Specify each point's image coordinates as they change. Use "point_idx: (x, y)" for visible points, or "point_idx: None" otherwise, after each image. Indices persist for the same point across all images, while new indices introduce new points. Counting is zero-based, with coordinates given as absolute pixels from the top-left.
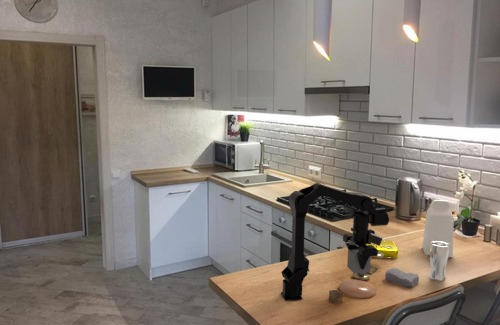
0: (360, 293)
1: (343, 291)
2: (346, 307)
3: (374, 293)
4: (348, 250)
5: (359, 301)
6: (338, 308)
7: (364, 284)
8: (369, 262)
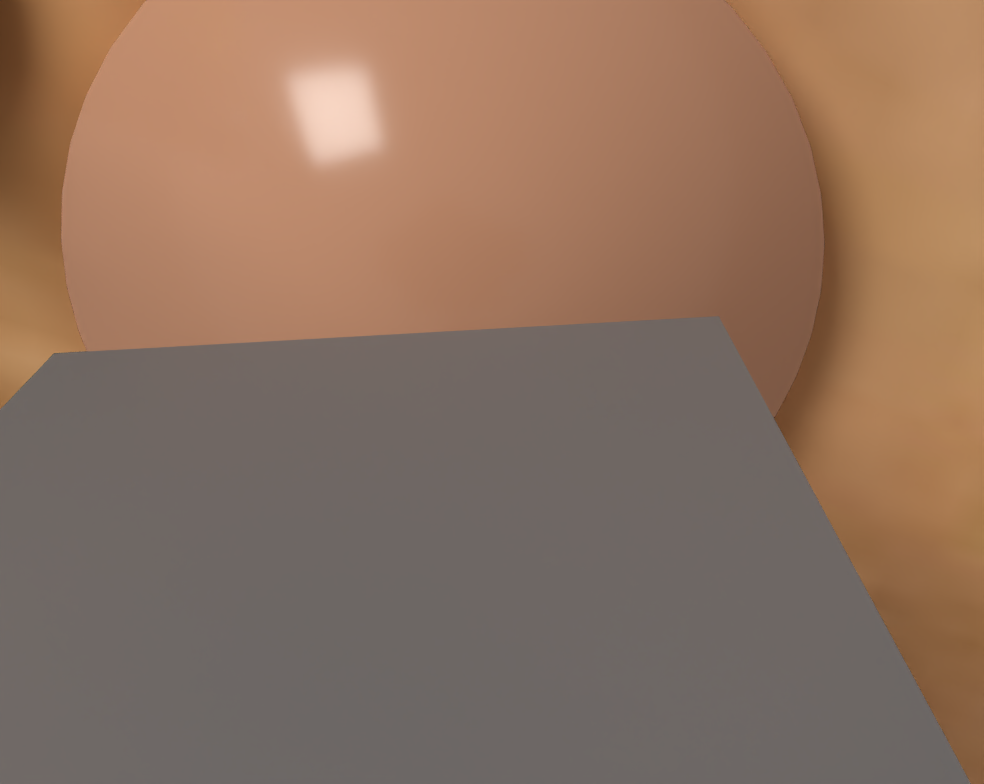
0: None
1: None
2: (970, 618)
3: (752, 39)
4: None
5: (873, 403)
6: (952, 701)
7: (313, 109)
8: (869, 666)
